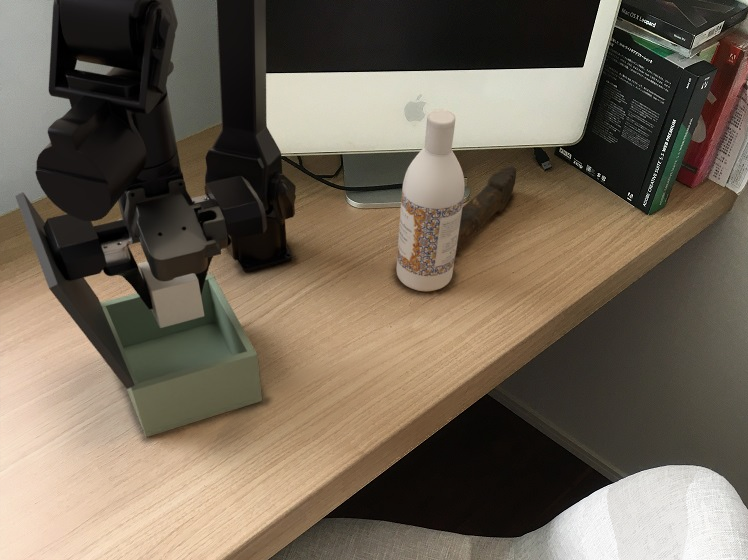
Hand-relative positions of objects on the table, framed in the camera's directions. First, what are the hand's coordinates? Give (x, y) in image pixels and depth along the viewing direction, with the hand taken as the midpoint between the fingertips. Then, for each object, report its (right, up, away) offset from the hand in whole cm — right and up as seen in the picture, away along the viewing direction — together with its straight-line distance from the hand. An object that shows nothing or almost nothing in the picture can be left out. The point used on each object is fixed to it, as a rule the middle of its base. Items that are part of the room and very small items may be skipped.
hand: (173, 300), depth 77 cm
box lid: (-7, -1, -5) cm, 9 cm away
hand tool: (+33, +17, +26) cm, 45 cm away
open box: (-1, -6, +8) cm, 10 cm away
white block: (0, -1, +1) cm, 1 cm away
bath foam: (+26, +8, +20) cm, 34 cm away
